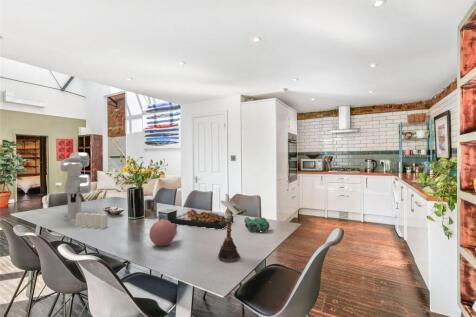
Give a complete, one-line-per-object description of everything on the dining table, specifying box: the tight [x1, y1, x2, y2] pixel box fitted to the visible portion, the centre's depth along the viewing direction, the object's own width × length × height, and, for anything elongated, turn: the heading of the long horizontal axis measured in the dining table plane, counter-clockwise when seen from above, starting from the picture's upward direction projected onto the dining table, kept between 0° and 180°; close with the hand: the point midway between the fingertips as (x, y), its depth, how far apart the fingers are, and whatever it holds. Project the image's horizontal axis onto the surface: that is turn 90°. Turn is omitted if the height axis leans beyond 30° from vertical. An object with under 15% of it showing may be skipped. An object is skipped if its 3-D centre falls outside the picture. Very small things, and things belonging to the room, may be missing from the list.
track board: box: [78, 226, 106, 230], centre depth 180 cm, size 27×9×1 cm, turn 78°
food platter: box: [175, 208, 227, 230], centre depth 196 cm, size 45×25×10 cm, turn 70°
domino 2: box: [81, 212, 90, 229], centre depth 181 cm, size 2×5×10 cm, turn 168°
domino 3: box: [87, 212, 96, 229], centre depth 180 cm, size 2×5×10 cm, turn 167°
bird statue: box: [217, 193, 247, 263], centre depth 127 cm, size 17×13×35 cm
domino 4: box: [93, 213, 102, 230], centre depth 179 cm, size 2×5×10 cm, turn 168°
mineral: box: [244, 216, 270, 233], centre depth 175 cm, size 18×16×10 cm
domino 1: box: [75, 211, 84, 228], centre depth 182 cm, size 2×5×10 cm, turn 168°
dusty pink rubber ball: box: [148, 219, 179, 247], centre depth 148 cm, size 15×20×15 cm
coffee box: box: [143, 198, 158, 220], centre depth 211 cm, size 9×6×16 cm
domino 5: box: [100, 213, 109, 230], centre depth 178 cm, size 2×5×10 cm, turn 168°
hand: (73, 202), depth 183 cm, fingers closed
